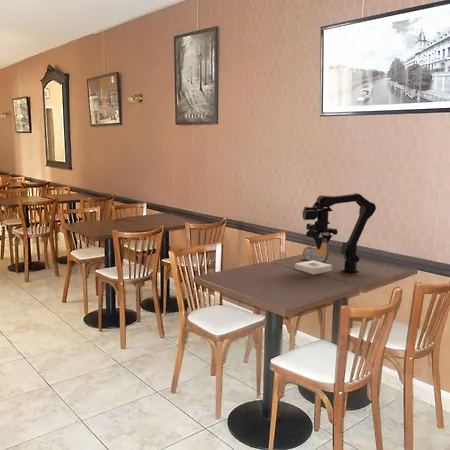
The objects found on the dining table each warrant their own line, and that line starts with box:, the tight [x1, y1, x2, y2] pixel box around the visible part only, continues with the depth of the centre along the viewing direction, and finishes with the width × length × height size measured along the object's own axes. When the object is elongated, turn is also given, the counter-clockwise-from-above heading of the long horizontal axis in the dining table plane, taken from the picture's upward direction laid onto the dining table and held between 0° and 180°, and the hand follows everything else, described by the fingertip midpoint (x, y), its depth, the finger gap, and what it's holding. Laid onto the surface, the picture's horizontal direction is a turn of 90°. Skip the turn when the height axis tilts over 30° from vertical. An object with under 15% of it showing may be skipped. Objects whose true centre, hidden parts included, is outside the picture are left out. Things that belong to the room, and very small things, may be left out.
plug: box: [315, 238, 328, 256], centre depth 254 cm, size 4×4×9 cm
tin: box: [302, 246, 329, 263], centre depth 280 cm, size 15×3×8 cm, turn 58°
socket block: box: [294, 260, 333, 275], centre depth 262 cm, size 14×14×3 cm
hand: (321, 248), depth 254 cm, fingers closed on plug, 4 cm apart
